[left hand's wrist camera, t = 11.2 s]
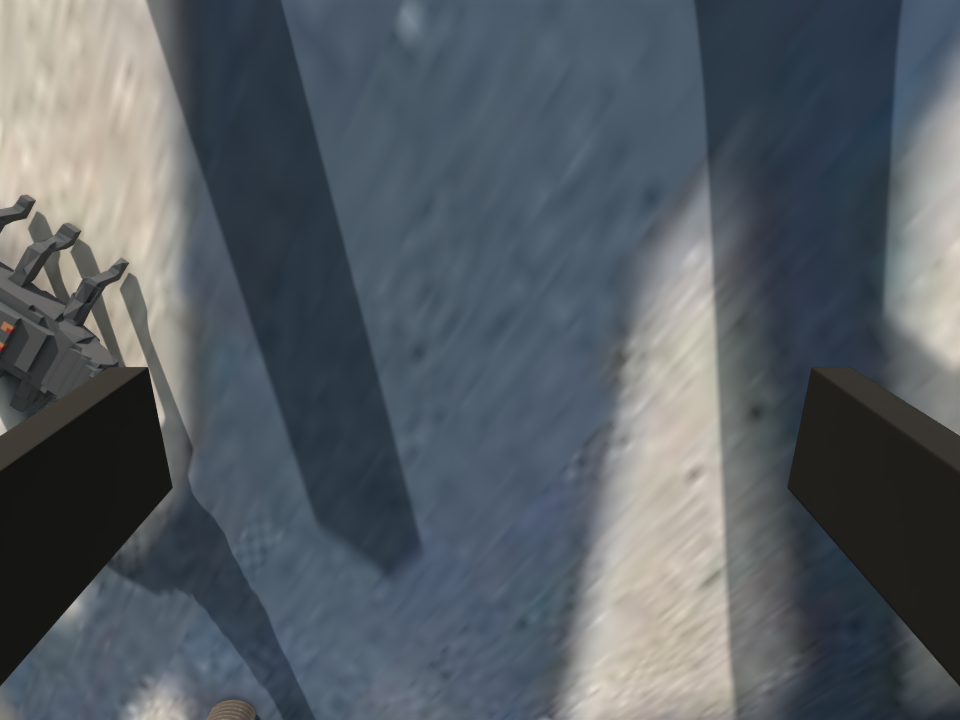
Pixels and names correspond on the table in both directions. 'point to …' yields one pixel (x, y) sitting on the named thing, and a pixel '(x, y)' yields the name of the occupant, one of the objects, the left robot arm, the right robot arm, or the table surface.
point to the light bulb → (232, 711)
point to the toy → (48, 321)
